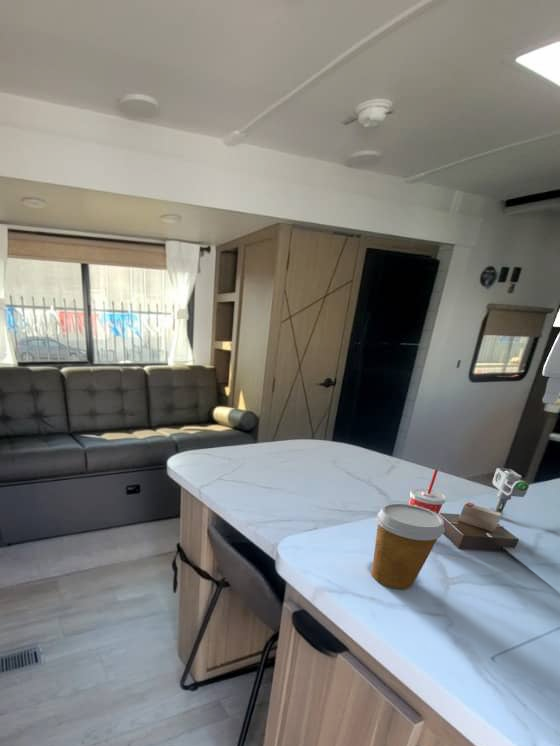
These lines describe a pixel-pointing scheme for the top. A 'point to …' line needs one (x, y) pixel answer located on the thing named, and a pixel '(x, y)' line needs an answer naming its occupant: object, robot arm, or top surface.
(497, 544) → the brown square box
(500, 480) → the mechanical component
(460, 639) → the top surface
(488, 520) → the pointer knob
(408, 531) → the disposable coffee cup
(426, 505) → the beverage cup
